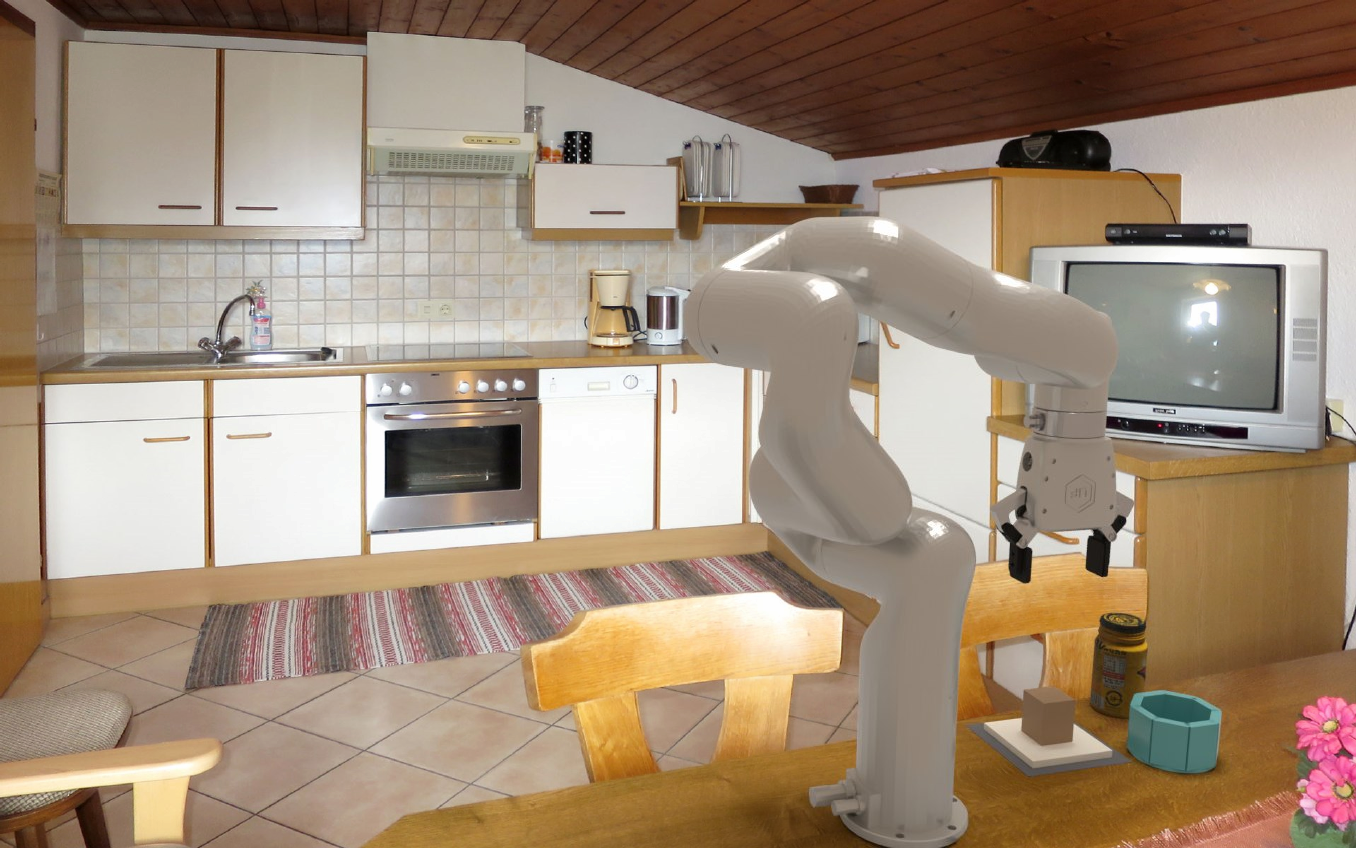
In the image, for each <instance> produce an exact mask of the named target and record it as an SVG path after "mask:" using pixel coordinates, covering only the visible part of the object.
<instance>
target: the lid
mask: <svg viewBox="0 0 1356 848" xmlns="http://www.w3.org/2000/svg"><path fill="white" fill-rule="evenodd" d="M1075 710H1076V699H1075V698H1073V697H1072V696H1070V695H1069V694H1067V693H1066V692H1064V691H1063V690H1061V689H1060V688H1058V687H1056V686H1055V685H1053V686H1052V685H1051V686H1043V687H1035V688H1027V689H1023V695H1022V711H1021V712H1022V713H1021V717H1019V718H1012V719H1004V720H995V721H988V722H983V723H984V730H985V731H987V732H988V733H989V734H990V735H992V736H993V737H994V738H995V739H997V740H998V741H999V742H1000V743H1002V744H1003V745H1004V746H1005V747H1007V748H1008V749H1009V750H1010V751H1012V752H1013V753H1014V754H1015V755H1017V756H1018V757H1019V758H1020V759H1022V760H1023V761H1024V762H1025V763H1027V764H1028V765H1029V766H1030V767H1032V768H1039V767H1046V766H1053V765H1060V764H1067V763H1075V762H1082V761H1089V760H1096V759H1103V758H1110V757H1112V751H1113V750H1111V749H1110V748H1108V747H1107V746H1105V745H1104V744H1102V743H1101V742H1100V741H1098V740H1097V739H1095V738H1094V737H1092V736H1091V735H1089V734H1088V733H1087V732H1085V731H1084V730H1082V729H1081V728H1079V727H1078V726H1076V725H1075V724H1074V722H1075Z"/></svg>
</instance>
